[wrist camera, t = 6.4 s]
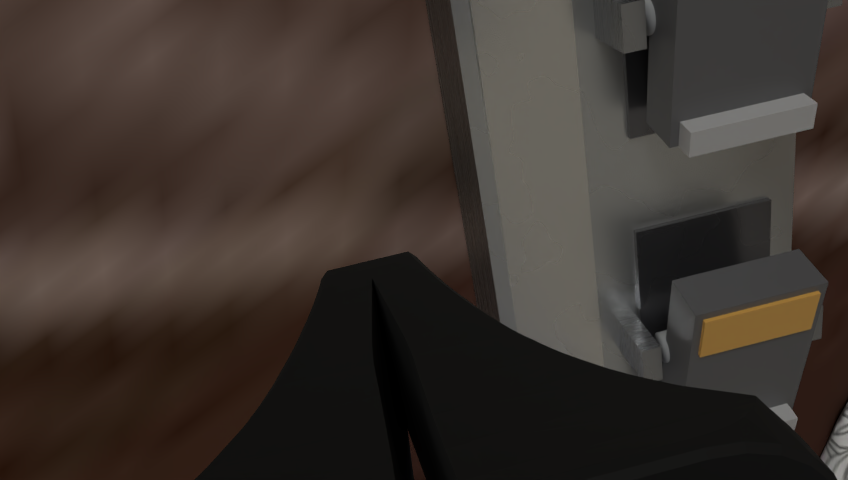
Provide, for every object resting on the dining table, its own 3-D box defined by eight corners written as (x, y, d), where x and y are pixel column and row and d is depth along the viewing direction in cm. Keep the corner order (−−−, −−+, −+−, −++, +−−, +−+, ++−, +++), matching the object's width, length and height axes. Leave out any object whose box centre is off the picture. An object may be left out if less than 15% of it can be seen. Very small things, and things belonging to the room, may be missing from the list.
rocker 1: (768, 82, 19) (824, 125, 17) (634, 113, 19) (677, 160, 17) (798, -146, 16) (870, -122, 14) (640, -114, 16) (693, -85, 14)
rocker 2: (758, 367, 23) (802, 429, 21) (648, 396, 23) (684, 461, 21) (789, 235, 20) (843, 297, 18) (661, 267, 19) (704, 332, 18)
